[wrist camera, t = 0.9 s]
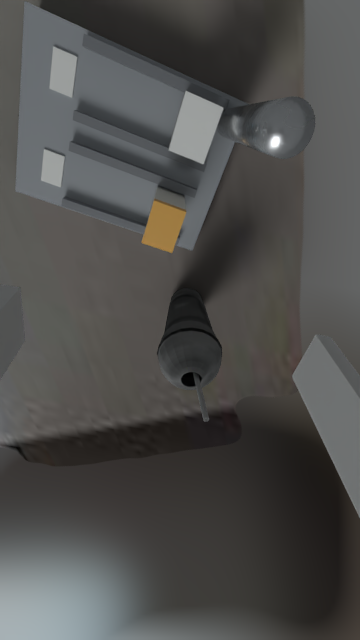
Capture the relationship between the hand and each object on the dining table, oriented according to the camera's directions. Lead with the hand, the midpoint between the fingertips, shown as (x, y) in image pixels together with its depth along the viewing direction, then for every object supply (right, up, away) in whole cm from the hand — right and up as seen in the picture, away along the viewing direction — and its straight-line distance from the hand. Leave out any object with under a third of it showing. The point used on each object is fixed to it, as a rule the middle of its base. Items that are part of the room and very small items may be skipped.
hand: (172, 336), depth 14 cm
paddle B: (+1, +19, +15) cm, 24 cm away
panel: (-5, +19, +19) cm, 27 cm away
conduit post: (+5, +20, +15) cm, 25 cm away
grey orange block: (-1, +13, +19) cm, 23 cm away
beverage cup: (+1, +3, +30) cm, 30 cm away
